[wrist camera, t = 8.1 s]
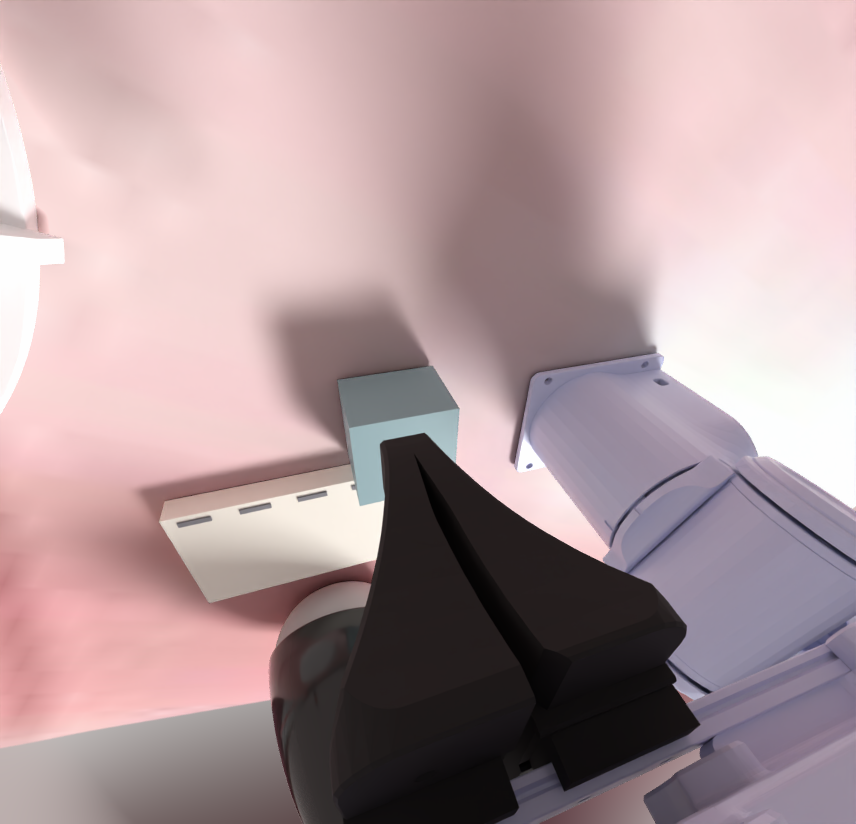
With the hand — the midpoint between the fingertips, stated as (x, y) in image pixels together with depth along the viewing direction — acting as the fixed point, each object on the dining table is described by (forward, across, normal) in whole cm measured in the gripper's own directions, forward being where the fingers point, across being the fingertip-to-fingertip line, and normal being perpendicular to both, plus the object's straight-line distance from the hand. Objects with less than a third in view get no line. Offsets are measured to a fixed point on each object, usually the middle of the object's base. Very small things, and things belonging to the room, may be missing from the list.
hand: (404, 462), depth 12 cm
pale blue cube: (+9, -1, +5) cm, 11 cm away
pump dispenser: (+10, +4, +23) cm, 25 cm away
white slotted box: (+9, +4, +12) cm, 16 cm away
